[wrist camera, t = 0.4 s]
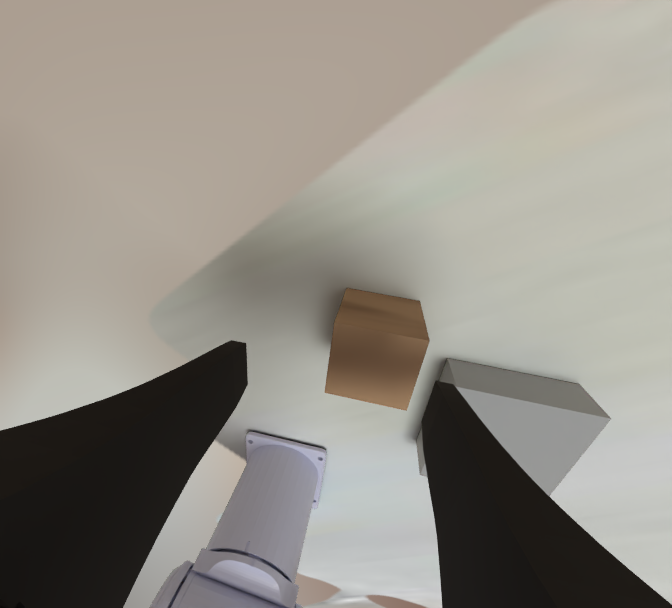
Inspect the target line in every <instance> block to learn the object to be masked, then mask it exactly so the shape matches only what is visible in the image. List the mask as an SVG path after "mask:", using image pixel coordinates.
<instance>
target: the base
mask: <svg viewBox="0 0 672 608" xmlns="http://www.w3.org/2000/svg"><path fill="white" fill-rule="evenodd" d="M439 381H440V382H445V383H450V384H454V386H455V387H456V388H457V389H458V391H459V392H460V393H461V395H462V396H463V397H464V399H465V400H466V401H467V402H468V404H469V405H470V406H471V408H472V409H473V410H474V412H475V413H476V414H477V416H478V417H479V418H480V419H481V421H482V422H483V423H484V424H485V426H486V427H487V428H488V429H489V431H490V432H491V433H492V434H493V436H494V437H495V438H496V439H497V440H498V441H499V443H500V444H501V445H502V446H503V447H504V449H505V450H506V451H507V452H508V453H509V454H510V455H511V456H512V458H513V459H514V460H515V461H516V462H517V463H518V464H519V466H520V467H521V468H522V469H523V470H524V471H525V472H526V473H527V474H528V475H529V476H530V477H531V478H532V480H533V481H534V482H535V483H536V484H537V485H538V486H539V487H540V488H541V489H542V490H543V491H544V492H545V493H546V494H547V495H548V496H550V495H551V493H552V492H553V491H554V490H555V488H556V487H557V486H558V485H559V483H560V482H561V481H562V480H563V478H564V477H565V476H566V475H567V473H568V472H569V471H570V470H571V468H572V467H573V466H574V465H575V463H576V462H577V461H578V460H579V458H580V457H581V456H582V455H583V453H584V452H585V451H586V450H587V448H588V447H589V446H590V445H591V443H592V442H593V441H594V440H595V438H596V437H597V436H598V435H599V434H600V432H601V431H602V430H603V429H604V427H605V426H606V425H607V424H608V422H609V421H610V420H611V418H610V417H609V416H608V415H607V414H606V413H605V411H604V410H603V409H602V408H601V407H600V406H599V405H598V404H597V403H596V402H595V400H594V399H593V398H592V397H591V396H590V395H589V394H588V393H587V392H586V391H585V390H584V388H583V387H582V386H581V385H580V384H575V383H570V382H565V381H560V380H555V379H550V378H545V377H540V376H535V375H530V374H525V373H519V372H514V371H509V370H504V369H499V368H494V367H489V366H484V365H479V364H474V363H469V362H464V361H459V360H454V359H449V358H447V361H446V363H445V366H444V369H443V371H442V374H441V377H440V379H439ZM416 443H417V452H418V461H419V471H420V475H422V476H427V471H426V465H425V459H424V452H423V440H422V427H421V430H420V433H419V435H418V438H417V441H416Z"/></svg>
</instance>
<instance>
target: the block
mask: <svg viewBox="0 0 672 608" xmlns="http://www.w3.org/2000/svg"><path fill="white" fill-rule="evenodd" d="M428 344H429V337H428V333H427V328H426V324H425V320H424V316H423V312H422V308H421V304H420V301H416V300H411V299H405V298H400V297H394V296H389V295H383V294H378V293H372V292H366V291H361V290H355V289H350V288H347V289H346V291H345V294H344V297H343V300H342V302H341V305H340V308H339V311H338V313H337V316H336V319H335V322H334V328H333V335H332V342H331V350H330V357H329V364H328V371H327V379H326V386H325V393H329V394H334V395H338V396H343V397H347V398H352V399H356V400H361V401H365V402H370V403H374V404H379V405H384V406H388V407H393V408H397V409H402V410H406V411H407V408H408V405H409V402H410V399H411V396H412V393H413V390H414V387H415V384H416V381H417V378H418V375H419V371H420V368H421V365H422V362H423V359H424V356H425V353H426V350H427V347H428Z"/></svg>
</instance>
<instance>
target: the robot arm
mask: <svg viewBox="0 0 672 608" xmlns="http://www.w3.org/2000/svg"><path fill="white" fill-rule="evenodd" d="M247 384H248V381H247V353H246V343H242V342H237V341H232V340H231V341H229V342H227V343H225V344H223V345H221V346H219V347H217V348H215V349H213V350H211V351H209V352H207V353H205V354H203V355H202V356H200V357H198V358H196V359H194V360H192V361H190V362H188V363H186V364H184V365H182V366H180V367H178V368H176V369H174V370H172V371H170V372H168V373H165V374H163V375H161V376H159V377H157V378H155V379H153V380H151V381H148V382H146V383H144V384H142V385H139V386H137V387H134V388H132V389H130V390H127V391H124V392H122V393H119V394H117V395H114V396H112V397H109V398H106V399H103V400H101V401H98V402H95V403H92V404H89V405H86V406H83V407H80V408H77V409H74V410H71V411H68V412H65V413H62V414H59V415H55V416H52V417H48V418H45V419H42V420H38V421H35V422H31V423H27V424H24V425H20V426H16V427H13V428H9V429H5V430H1V431H0V608H123V606H124V604H125V602H126V600H127V598H128V596H129V594H130V592H131V589H132V587H133V585H134V583H135V581H136V579H137V577H138V575H139V573H140V571H141V569H142V567H143V565H144V563H145V561H146V559H147V557H148V555H149V553H150V551H151V549H152V547H153V545H154V543H155V541H156V539H157V537H158V535H159V533H160V531H161V529H162V528H163V526H164V523H165V522H166V520H167V518H168V516H169V514H170V512H171V510H172V509H173V507H174V505H175V503H176V501H177V499H178V498H179V496H180V494H181V492H182V490H183V489H184V487H185V485H186V483H187V481H188V480H189V478H190V476H191V474H192V473H193V471H194V470H195V468H196V466H197V465H198V463H199V462H200V460H201V459H202V457H203V456H204V454H205V453H206V451H207V449H208V448H209V447H210V445H211V444H212V442H213V441H214V439H215V438H216V436H217V435H218V434H219V432H220V431H221V429H222V428H223V426H224V425H225V423H226V422H227V420H228V419H229V417H230V416H231V414H232V413H233V411H234V410H235V408H236V406H237V404H238V402H239V401H240V399H241V397H242V395H243V393H244V391H245V389H246V386H247ZM422 440H423V452H424V459H425V465H426V471H427V477H428V483H429V488H430V494H431V500H432V506H433V512H434V518H435V524H436V532H437V541H438V553H439V565H440V577H441V592H442V607H443V608H672V605H671V604H670V603H669V602H668V601H666V600H665V599H664V598H663V597H662V596H660V595H659V594H658V593H657V592H656V591H654V590H653V589H652V588H651V587H650V586H648V585H647V584H646V583H645V582H644V581H642V580H641V579H640V578H639V577H638V576H636V575H635V574H634V573H633V572H632V571H630V570H629V569H628V568H627V567H626V566H625V565H623V564H622V563H621V562H620V561H619V560H618V559H616V558H615V557H614V556H613V555H612V554H611V553H610V552H608V551H607V550H606V549H605V548H604V547H603V546H602V545H600V544H599V543H598V542H597V541H596V540H595V539H594V538H593V537H592V536H591V535H589V534H588V533H587V532H586V531H585V530H584V529H583V528H582V527H581V526H580V525H578V524H577V523H576V522H575V521H574V520H573V519H572V518H571V517H570V516H569V515H568V514H567V513H566V512H565V511H564V510H562V509H561V508H560V507H559V506H558V505H557V504H556V503H555V502H554V501H553V500H552V499H551V498H550V497H549V496H548V495H547V494H546V493H545V492H544V491H543V490H542V489H541V488H540V487H539V486H538V485H537V484H536V483H535V482H534V481H533V480H532V478H531V477H530V476H529V475H528V474H527V473H526V472H525V471H524V470H523V469H522V468H521V467H520V466H519V464H518V463H517V462H516V461H515V460H514V459H513V458H512V456H511V455H510V454H509V453H508V452H507V451H506V450H505V449H504V447H503V446H502V445H501V444H500V443H499V441H498V440H497V439H496V438H495V437H494V436H493V434H492V433H491V432H490V431H489V429H488V428H487V427H486V426H485V424H484V423H483V422H482V421H481V419H480V418H479V417H478V416H477V414H476V413H475V412H474V410H473V409H472V408H471V406H470V405H469V404H468V402H467V401H466V400H465V399H464V397H463V396H462V395H461V393H460V392H459V391H458V389H457V388H456V387H455V386H454V384H450V383H445V382H440V381H436V382H435V384H434V387H433V390H432V393H431V396H430V399H429V402H428V405H427V407H426V410H425V413H424V416H423V419H422ZM326 455H327V452H326V450H324V449H322V448H318V447H314V446H309V445H305V444H301V443H297V442H293V441H289V440H284V439H280V438H276V437H272V436H268V435H264V434H259V433H255V432H248V433H247V435H246V458H247V465H246V467H245V469H244V471H243V473H242V476H241V478H240V480H239V482H238V484H237V486H236V488H235V490H234V492H233V494H232V496H231V498H230V500H229V502H228V504H227V506H226V508H225V511H224V513H223V515H222V517H221V519H220V521H219V523H218V525H217V527H216V529H215V531H214V533H213V535H212V537H211V539H210V542H209V544H208V546H207V548H206V549H204V548H203V549H201V551H200V553H199V555H198V557H197V559H196V561H195V563H194V564H193V563H192V562H190V561H185V562H184V563H183V564H182V565H180V566H179V567H177V568H175V569H174V570H173V571H172V572H171V573H170V575H169V576H168V578H167V579H166V581H165V582H164V584H163V585H162V587H161V588H160V590H159V592H158V593H157V595H156V597H155V599H154V600H153V602H152V604H151V606H150V608H303V607H302V606H301V605H300V604H296V598H297V593H298V589H299V586H298V585H296V584H294V583H295V578H296V574H297V570H298V565H299V561H300V557H301V552H302V548H303V543H304V539H305V535H306V530H307V526H308V521H309V517H310V513H311V508H312V509H316V508H318V504H319V497H320V491H321V485H322V479H323V473H324V467H325V461H326Z"/></svg>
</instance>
